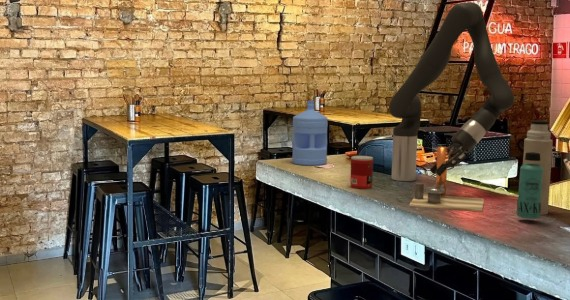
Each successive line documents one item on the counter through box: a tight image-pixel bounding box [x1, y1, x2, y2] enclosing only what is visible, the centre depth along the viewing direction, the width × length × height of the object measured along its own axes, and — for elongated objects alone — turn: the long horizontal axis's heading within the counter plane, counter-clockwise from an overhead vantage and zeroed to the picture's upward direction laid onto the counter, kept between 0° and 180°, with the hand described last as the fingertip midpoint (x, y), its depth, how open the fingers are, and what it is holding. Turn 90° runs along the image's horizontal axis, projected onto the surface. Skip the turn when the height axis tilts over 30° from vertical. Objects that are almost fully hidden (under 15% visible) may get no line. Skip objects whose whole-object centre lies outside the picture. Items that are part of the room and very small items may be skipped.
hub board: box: [408, 182, 485, 213], centre depth 209 cm, size 18×22×6 cm
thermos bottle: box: [522, 120, 553, 216], centre depth 196 cm, size 8×8×28 cm
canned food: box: [349, 155, 374, 190], centre depth 235 cm, size 8×8×11 cm
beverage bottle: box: [516, 152, 544, 220], centre depth 184 cm, size 6×7×20 cm
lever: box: [424, 146, 449, 196], centre depth 212 cm, size 17×6×16 cm, turn 157°
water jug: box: [291, 100, 329, 167], centre depth 290 cm, size 16×16×28 cm
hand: (434, 172), depth 217 cm, fingers closed on lever, 3 cm apart
